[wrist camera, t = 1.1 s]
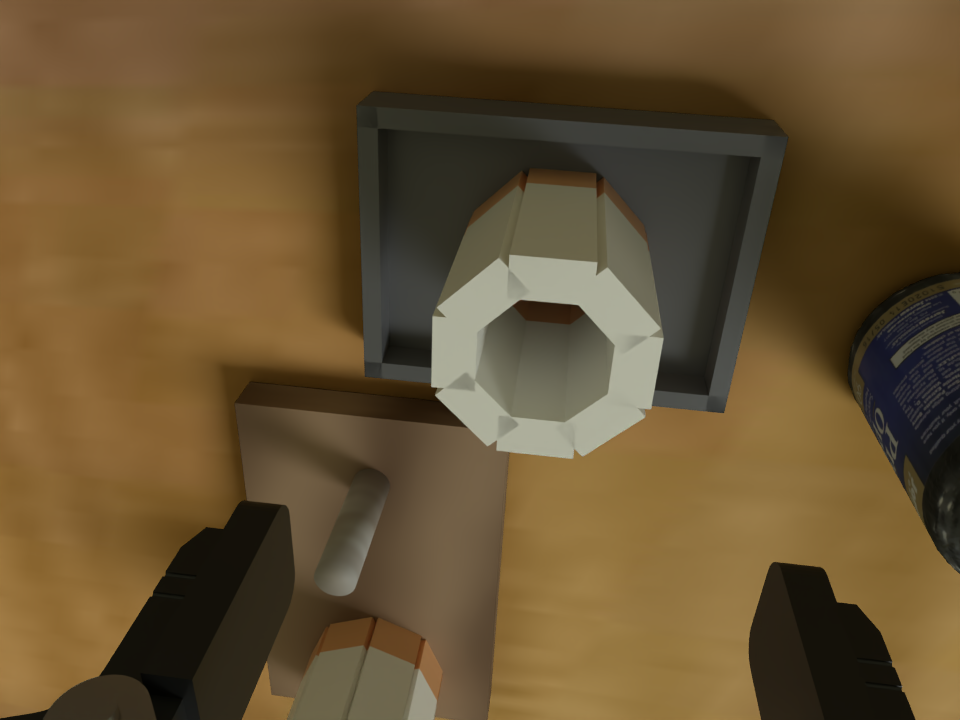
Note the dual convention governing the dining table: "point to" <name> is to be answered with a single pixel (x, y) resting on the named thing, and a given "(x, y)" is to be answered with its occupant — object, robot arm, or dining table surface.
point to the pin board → (381, 526)
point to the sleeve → (549, 318)
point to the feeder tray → (610, 154)
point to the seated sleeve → (369, 675)
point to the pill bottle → (917, 398)
